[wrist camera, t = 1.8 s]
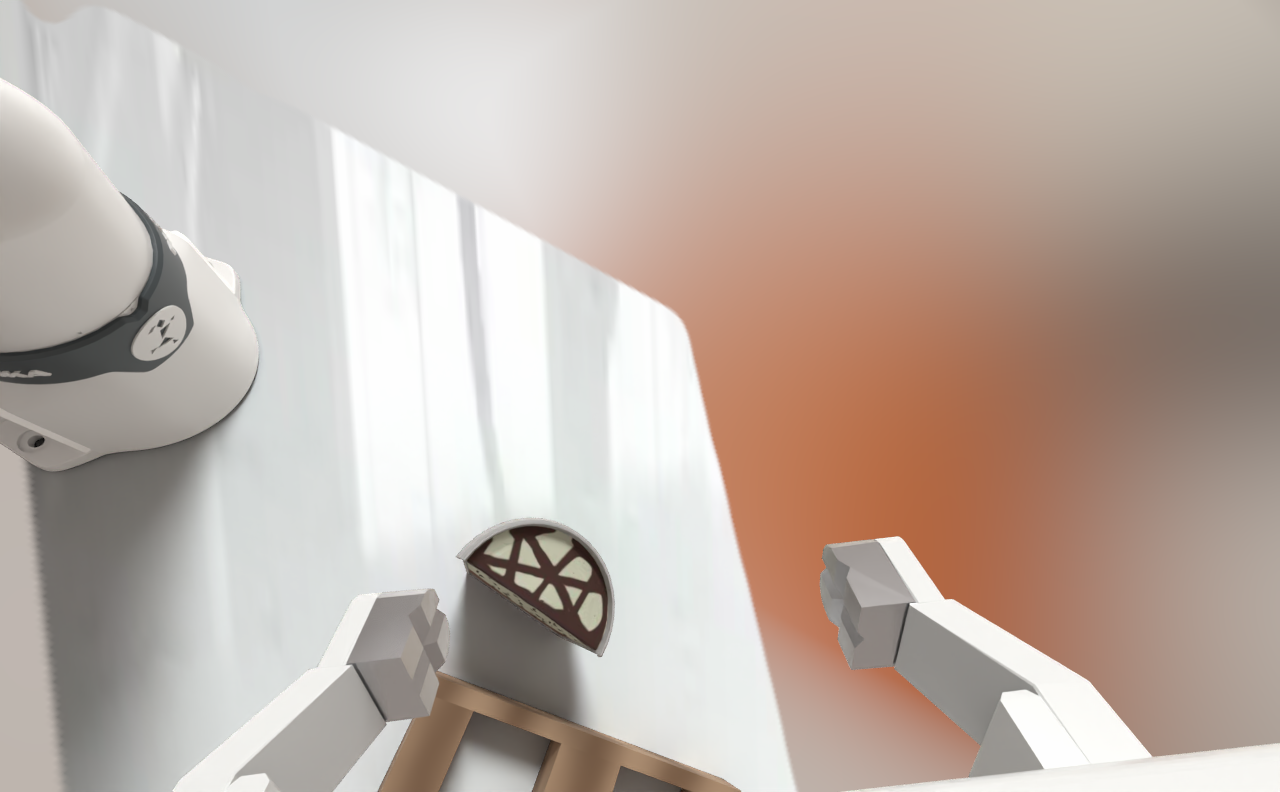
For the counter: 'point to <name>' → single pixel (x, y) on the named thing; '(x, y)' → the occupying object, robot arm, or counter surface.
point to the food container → (547, 577)
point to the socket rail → (576, 756)
